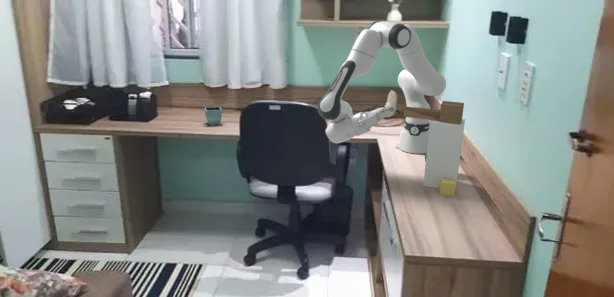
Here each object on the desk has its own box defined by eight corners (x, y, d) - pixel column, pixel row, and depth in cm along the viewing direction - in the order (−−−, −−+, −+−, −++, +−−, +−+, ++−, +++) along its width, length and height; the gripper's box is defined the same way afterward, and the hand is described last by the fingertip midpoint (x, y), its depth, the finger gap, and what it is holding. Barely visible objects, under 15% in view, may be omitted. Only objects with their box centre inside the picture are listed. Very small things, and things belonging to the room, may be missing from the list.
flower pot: (204, 122, 283) (204, 107, 280) (220, 121, 286) (220, 106, 283) (206, 126, 275) (206, 110, 272) (222, 125, 278) (222, 110, 275)
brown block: (406, 114, 203) (407, 97, 201) (461, 120, 196) (464, 102, 194) (402, 117, 197) (404, 100, 195) (460, 124, 189) (462, 106, 187)
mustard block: (439, 190, 194) (440, 178, 193) (452, 191, 194) (453, 179, 193) (440, 195, 190) (442, 183, 188) (454, 196, 189) (455, 184, 188)
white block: (427, 176, 209) (434, 115, 202) (457, 180, 205) (465, 119, 198) (423, 185, 199) (430, 122, 191) (454, 190, 195) (462, 126, 187)
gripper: (351, 120, 198) (382, 107, 192) (365, 111, 217) (393, 99, 211) (358, 135, 199) (389, 122, 193) (371, 125, 217) (399, 112, 211)
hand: (391, 110), depth 202 cm, fingers open, 8 cm apart
